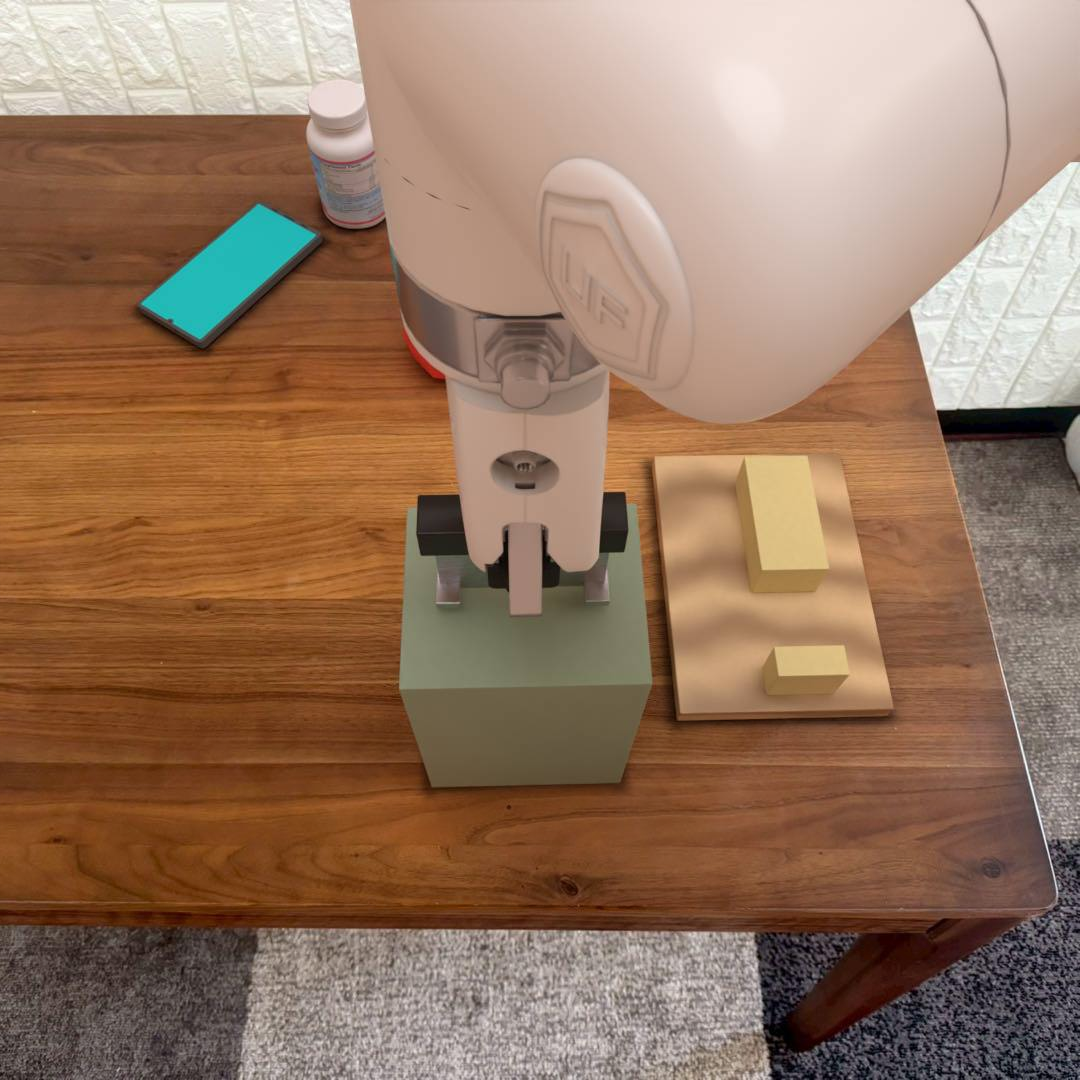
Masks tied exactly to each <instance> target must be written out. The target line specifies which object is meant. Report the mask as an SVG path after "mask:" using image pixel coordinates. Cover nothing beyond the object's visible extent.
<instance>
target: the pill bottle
mask: <svg viewBox="0 0 1080 1080" xmlns="http://www.w3.org/2000/svg"><path fill="white" fill-rule="evenodd" d="M307 107H308V113H309V117H310V119H309V121H308V123H307V126H306V131H305V136H306V142H307V148H308V150H309V155H310V159H311V164H312V168H313V171H314V176H315V180H316V185H317V189H318V193H319V197H320V202H321V206H322V209H323V212H324V214H325V216H326V218H327V220H329V221H330V222H331V223H333V224H334V225H336V226H338V227H340V228H345V229H349V230H350V229H351V230H361V229H362V230H363V229H368V228H371V227H374V226H376V225H378V224H379V223H381V222H382V221H383V220H384V219H386V216H385V210H384V205H383V199H382V193H381V187H380V181H379V175H378V169H377V163H376V157H375V152H374V146H373V140H372V134H371V128H370V122H369V116H368V110H367V104H366V98H365V92H364V88H362V87H361V86H360V85H359V84H357V83H356V82H355V81H351V80H348V79H343V78H342V79H341V78H335V79H329V80H325V81H323V82H320V83H318V84H317V85H315V86H314V87H312V89H311V90H310V91H309V93H308V94H307Z"/></svg>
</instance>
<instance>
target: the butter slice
mask: <svg viewBox="0 0 1080 1080" xmlns="http://www.w3.org/2000/svg"><path fill="white" fill-rule="evenodd" d="M762 670H763V676H764V683H765V690H766V695H795V694H834V693H835V692H836V691H837V690H838V688H839V687H840V686H841V685H842V683H843V682H844V681H845V680H846V679H847V677H848V676H849V675H850V673H849V668H848V662H847V657H846V652H845V647H844V645H834V646H786V647H774V648H773V649H772V651H771V653H770V654H769V656H768V658H767V660H766V661H765V663H764V665H763V666H762Z"/></svg>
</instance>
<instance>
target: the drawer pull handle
mask: <svg viewBox="0 0 1080 1080" xmlns="http://www.w3.org/2000/svg"><path fill="white" fill-rule="evenodd" d="M416 503H417V504H416V507H417V524H416V536H417V541H418V546H419V550H420V555H421V556H435V557H436V563H437V573H436V608H437V609H450V608H461V588H491V587H489V585H488V573H487V566H486V572H484V571H482V570H481V569H479V568H478V567H477V566H476V565H475V564H474V563H473V562H472V560H471V559H470V556H469V552H468V547H467V541H466V535H465V529H464V523H463V516H462V510H461V503H460V496H459V493H455V494H454V493H453V494H452V493H451V494H418V495H417V502H416ZM627 504H628V503H627V493H626V492H625V491H603V502H602V515H601V528H600V543H599V558H598V560H597V561H596V563H595V564H594V565H593V566H592V567H591V568H590V569H589V570H586V571H576V572H566V571H564V570H563V569H562V568H561V567H560V581H559V585H558V586H584V600H585V606H608V605H609V603H610V592H609V577H608V558H609V553H623V552H624V551H625V547H626V542H627V537H628V531H629V528H628V516H627Z"/></svg>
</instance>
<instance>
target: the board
mask: <svg viewBox="0 0 1080 1080" xmlns="http://www.w3.org/2000/svg"><path fill="white" fill-rule="evenodd" d="M746 456H808V461H809V467H810V472H811V477H812V482H813V487H814V492H815V498H816V503H817V508H818V513H819V518H820V523H821V529H822V534H823V539H824V544H825V549H826V554H827V559H828V565H829V570H828V572H827V573H826V575H825V577H824V578H823V580H822V582H821V583H820V585H819V587H818V588H817V590H816V591H815V592H770V593H751V589H750V582H749V575H748V568H747V562H746V555H745V548H744V541H743V534H742V528H741V521H740V514H739V507H738V501H737V494H736V487H735V481H736V479H737V476H738V473H739V470H740V467H741V465H742V462H743V459H744V457H746ZM651 474H652V475H651V476H652V485H653V493H654V505H655V514H656V526H657V534H658V544H659V555H660V565H661V576H662V584H663V595H664V596H663V597H664V604H665V615H666V616H665V617H666V625H667V626H666V627H667V635H668V646H669V656H670V665H671V675H672V685H673V686H672V687H673V695H674V705H675V707H674V708H675V717H676V721H678V722H679V721H683V722H684V721H685V722H687V721H721V720H722V721H725V720H769V719H774V720H775V719H813V718H815V719H816V718H817V719H818V718H819V719H820V718H861V717H888V716H889V715H890V714H891V712H892V711H894V709H895V706H894V701H893V698H892V693H891V688H890V683H889V679H888V673H887V669H886V664H885V660H884V656H883V650H882V646H881V641H880V636H879V632H878V631H879V630H878V627H877V623H876V618H875V617H876V616H875V613H874V608H873V604H872V603H873V602H872V599H871V594H870V590H869V584H868V580H867V576H866V575H867V574H866V571H865V567H864V562H863V557H862V552H861V547H860V542H859V538H858V533H857V528H856V524H855V519H854V514H853V510H852V504H851V501H850V496H849V491H848V486H847V481H846V477H845V472H844V468H843V463H842V457H841V453H839V452H838V453H837V452H833V453H832V452H831V453H827V452H826V453H773V454H772V453H767V454H766V453H765V454H763V453H762V454H714V455H713V454H707V455H705V454H703V455H700V454H699V455H698V454H697V455H654V456H653V459H652V464H651ZM834 645H844V647H845V652H846V657H847V662H848V668H849V673H850V675H849V676H848V677H847V679H846V680H845V681H844V682H843V683H842V685H841V686H840V687H839V688H838V690H837V691H836V692H835V693H834V694H795V695H766V690H765V683H764V676H763V670H762V666H763V665H764V663H765V661H766V660H767V658H768V656H769V654H770V653H771V651H772V649H773V648H774V647H786V646H834Z"/></svg>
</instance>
